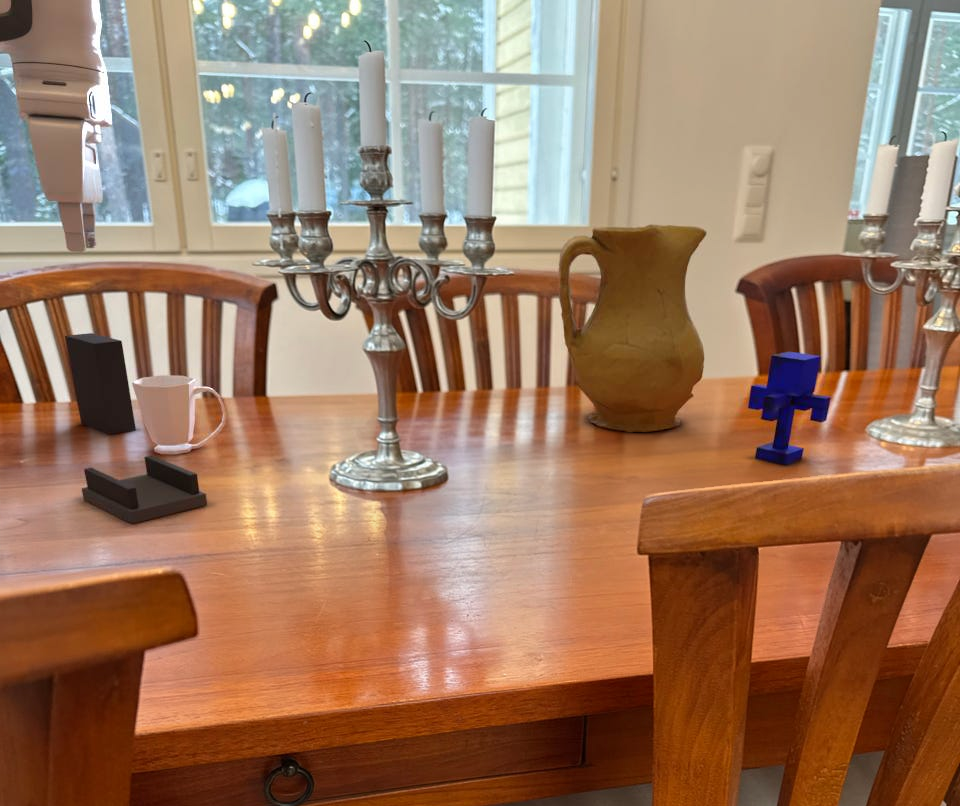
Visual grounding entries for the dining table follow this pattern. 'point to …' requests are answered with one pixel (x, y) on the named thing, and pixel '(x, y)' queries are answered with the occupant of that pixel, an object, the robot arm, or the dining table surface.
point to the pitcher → (635, 326)
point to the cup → (171, 411)
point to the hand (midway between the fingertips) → (82, 249)
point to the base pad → (145, 491)
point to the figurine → (788, 402)
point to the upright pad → (101, 382)
